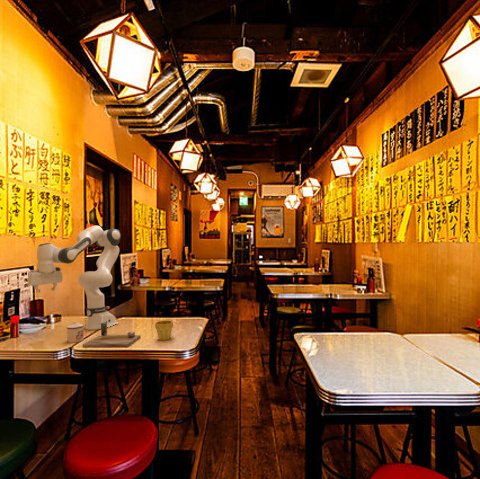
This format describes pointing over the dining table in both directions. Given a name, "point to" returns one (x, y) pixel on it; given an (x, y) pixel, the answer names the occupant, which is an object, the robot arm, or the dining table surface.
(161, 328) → the plant pot
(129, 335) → the lever
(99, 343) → the lever board
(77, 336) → the teacup with lid
